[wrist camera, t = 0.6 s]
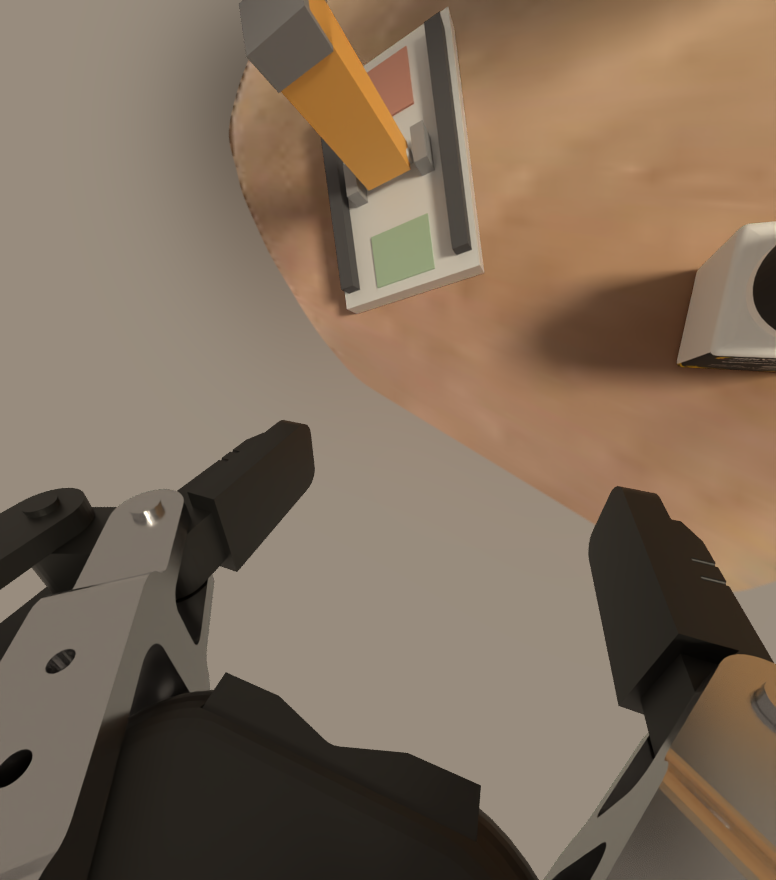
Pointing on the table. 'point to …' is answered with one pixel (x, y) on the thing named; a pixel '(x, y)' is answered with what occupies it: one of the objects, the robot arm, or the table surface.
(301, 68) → the lever
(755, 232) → the medicine bottle
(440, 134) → the dark grey mounting rails
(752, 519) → the table surface
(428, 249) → the breaker panel
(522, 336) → the table surface
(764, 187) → the table surface
